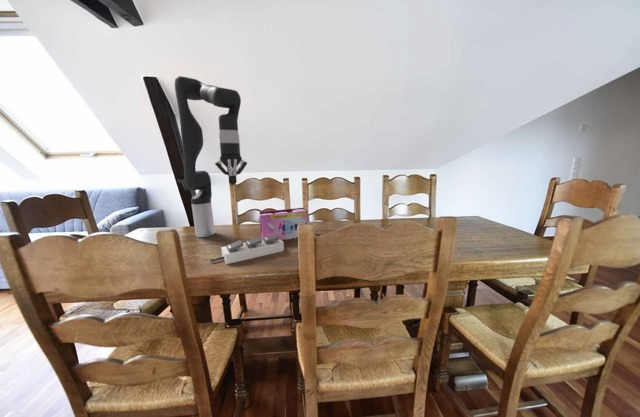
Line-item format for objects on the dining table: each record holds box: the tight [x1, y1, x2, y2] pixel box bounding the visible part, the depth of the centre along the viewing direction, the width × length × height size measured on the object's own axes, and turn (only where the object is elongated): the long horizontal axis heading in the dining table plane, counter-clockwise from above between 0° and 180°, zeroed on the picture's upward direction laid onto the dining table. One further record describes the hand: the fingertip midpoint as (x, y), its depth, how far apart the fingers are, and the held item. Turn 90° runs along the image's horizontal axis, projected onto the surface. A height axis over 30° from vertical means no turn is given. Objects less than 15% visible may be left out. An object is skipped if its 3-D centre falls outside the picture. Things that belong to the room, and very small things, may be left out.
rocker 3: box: [261, 234, 279, 243], centre depth 109 cm, size 5×6×1 cm
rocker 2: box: [244, 236, 262, 248], centre depth 105 cm, size 5×6×1 cm
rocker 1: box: [226, 239, 244, 252], centre depth 101 cm, size 5×6×1 cm
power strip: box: [209, 238, 285, 265], centre depth 106 cm, size 9×29×5 cm, turn 121°
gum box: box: [258, 207, 309, 241], centre depth 125 cm, size 24×8×14 cm, turn 111°
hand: (232, 184), depth 106 cm, fingers closed
